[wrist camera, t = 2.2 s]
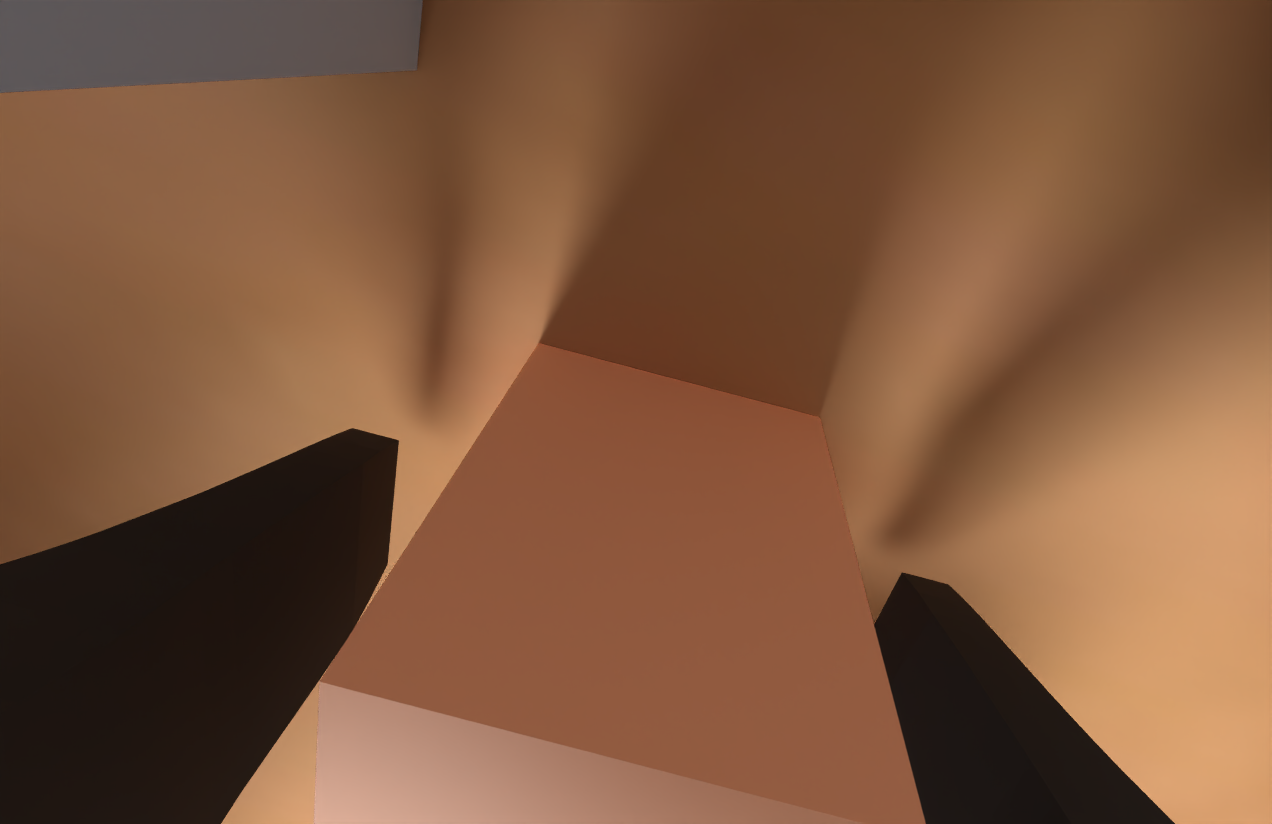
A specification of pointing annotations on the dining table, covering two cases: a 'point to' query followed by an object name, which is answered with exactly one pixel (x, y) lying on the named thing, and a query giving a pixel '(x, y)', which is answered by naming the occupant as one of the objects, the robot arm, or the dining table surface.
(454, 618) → the terracotta block
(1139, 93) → the dining table surface
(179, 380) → the dining table surface
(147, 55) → the slate-blue block
